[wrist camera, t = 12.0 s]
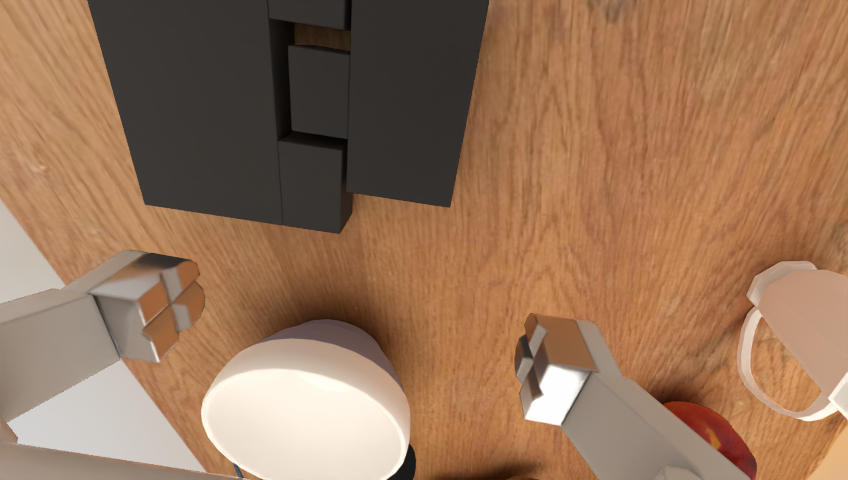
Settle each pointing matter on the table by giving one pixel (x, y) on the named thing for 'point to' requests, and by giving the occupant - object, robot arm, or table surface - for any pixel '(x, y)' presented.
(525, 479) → the ceramic sculpture
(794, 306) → the cup
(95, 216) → the table surface
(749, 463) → the fruit
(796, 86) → the table surface
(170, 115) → the base pad
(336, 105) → the black stepped block
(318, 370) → the bowl
